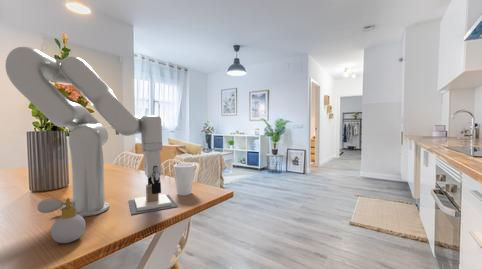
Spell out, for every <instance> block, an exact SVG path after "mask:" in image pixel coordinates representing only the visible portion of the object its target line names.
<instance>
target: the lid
mask: <svg viewBox="0 0 482 269" xmlns="http://www.w3.org/2000/svg"><path fill="white" fill-rule="evenodd" d="M166 195H167V194H166V193H162V194H161V193H157V194H152V184H148V183H147V184H145V196H141V197H134V198H133V200H134V202H135V205H136V208H137V211H141V210H146V209H152V208H158V207H164V206H170V205H171V201H170V200H169V198H168V197H167V196H166Z"/></svg>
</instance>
